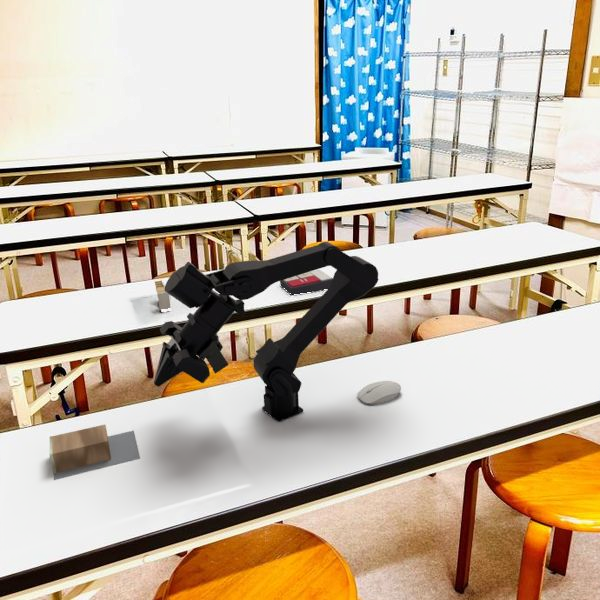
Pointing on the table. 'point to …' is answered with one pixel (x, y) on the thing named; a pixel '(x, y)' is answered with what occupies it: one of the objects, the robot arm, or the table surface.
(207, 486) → the table surface
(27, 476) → the table surface
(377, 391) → the computer mouse
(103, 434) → the walnut block
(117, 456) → the felt mat
